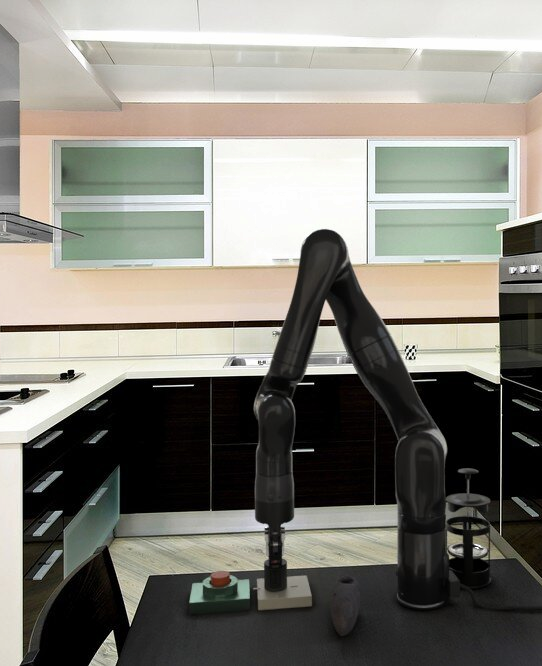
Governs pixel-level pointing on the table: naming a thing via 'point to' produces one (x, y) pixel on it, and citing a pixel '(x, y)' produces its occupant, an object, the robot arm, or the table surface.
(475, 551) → the french press
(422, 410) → the robot arm
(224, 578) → the button
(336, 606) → the perforated stone tool
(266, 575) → the dial
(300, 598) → the control panel
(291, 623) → the table surface
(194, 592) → the button box
